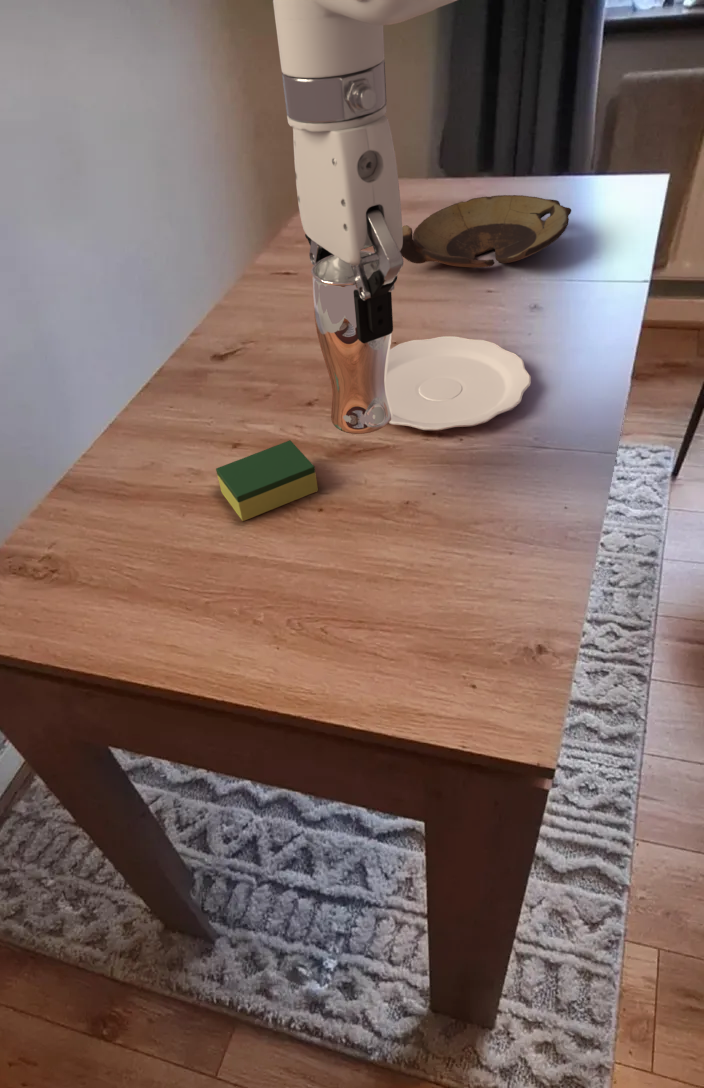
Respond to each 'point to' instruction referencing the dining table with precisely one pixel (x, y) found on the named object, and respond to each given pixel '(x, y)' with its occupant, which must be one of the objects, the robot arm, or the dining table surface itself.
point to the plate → (452, 382)
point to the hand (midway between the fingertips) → (354, 319)
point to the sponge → (267, 480)
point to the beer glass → (350, 350)
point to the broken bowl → (486, 230)
